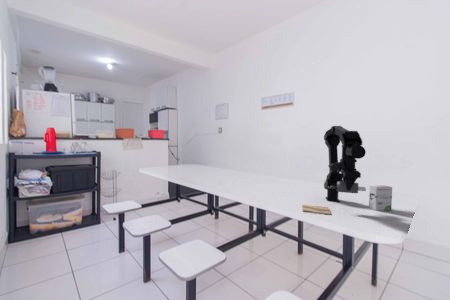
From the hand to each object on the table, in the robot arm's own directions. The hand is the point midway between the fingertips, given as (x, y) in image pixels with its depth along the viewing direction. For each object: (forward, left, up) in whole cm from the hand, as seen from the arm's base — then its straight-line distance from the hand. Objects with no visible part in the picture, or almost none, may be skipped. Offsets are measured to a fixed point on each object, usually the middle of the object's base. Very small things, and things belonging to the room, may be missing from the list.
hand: (347, 189), depth 103 cm
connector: (0, 0, -1) cm, 1 cm away
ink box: (-10, +17, -11) cm, 22 cm away
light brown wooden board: (+4, -14, -10) cm, 18 cm away
